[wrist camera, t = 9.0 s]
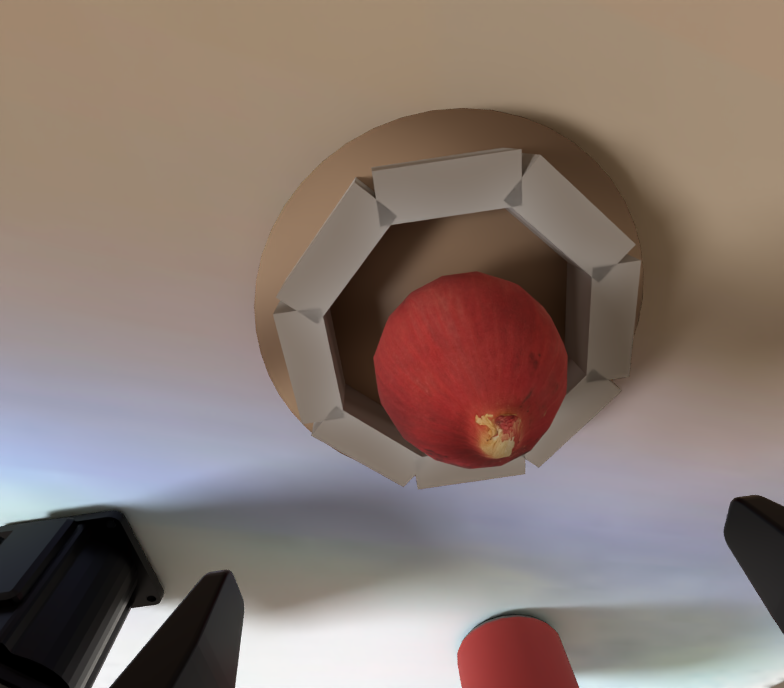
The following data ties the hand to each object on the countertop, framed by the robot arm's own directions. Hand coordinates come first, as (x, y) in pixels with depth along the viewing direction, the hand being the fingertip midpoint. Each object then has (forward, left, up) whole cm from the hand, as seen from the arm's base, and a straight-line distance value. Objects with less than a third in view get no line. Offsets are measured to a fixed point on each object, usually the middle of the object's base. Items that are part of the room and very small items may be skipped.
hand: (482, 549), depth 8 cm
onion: (0, -1, -11) cm, 11 cm away
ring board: (0, -1, -12) cm, 12 cm away
